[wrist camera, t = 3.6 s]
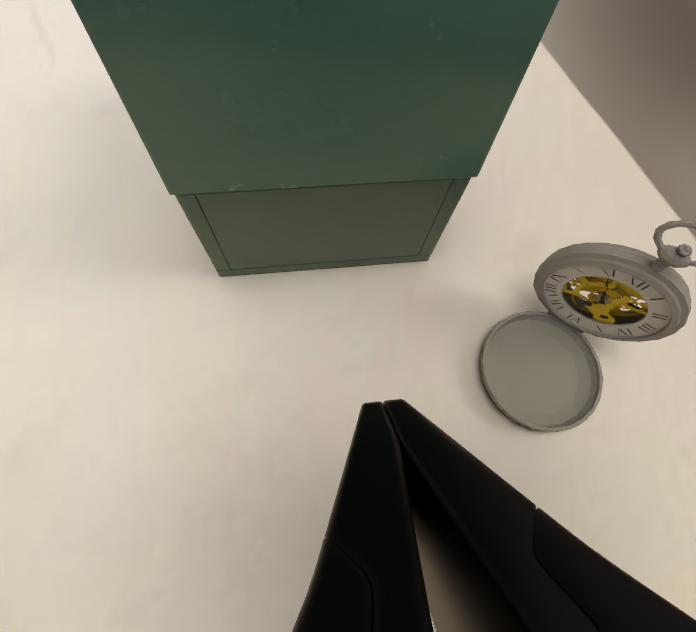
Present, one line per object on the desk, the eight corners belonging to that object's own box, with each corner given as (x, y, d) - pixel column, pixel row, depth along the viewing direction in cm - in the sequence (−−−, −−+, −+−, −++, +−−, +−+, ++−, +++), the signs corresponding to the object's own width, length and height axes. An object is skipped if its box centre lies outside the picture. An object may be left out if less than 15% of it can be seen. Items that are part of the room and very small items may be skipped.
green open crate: (217, 100, 28) (180, -26, 21) (394, 94, 30) (418, -28, 22) (219, 277, 24) (174, 195, 17) (428, 260, 25) (471, 177, 18)
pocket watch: (483, 432, 22) (607, 410, 12) (467, 288, 25) (557, 180, 15) (630, 432, 22) (857, 410, 13) (597, 291, 25) (763, 187, 16)
